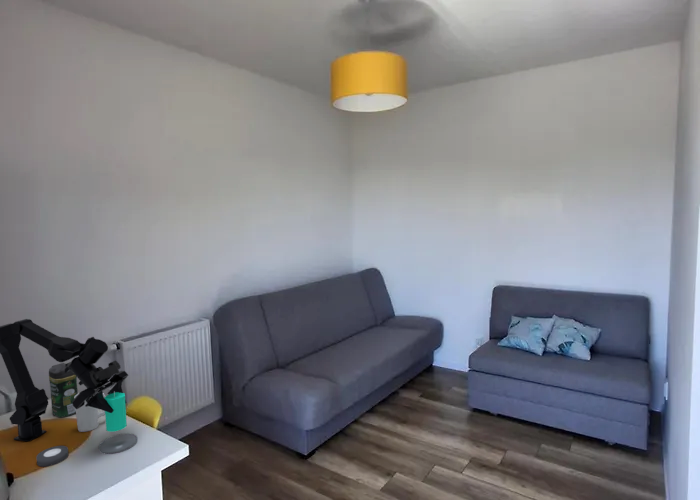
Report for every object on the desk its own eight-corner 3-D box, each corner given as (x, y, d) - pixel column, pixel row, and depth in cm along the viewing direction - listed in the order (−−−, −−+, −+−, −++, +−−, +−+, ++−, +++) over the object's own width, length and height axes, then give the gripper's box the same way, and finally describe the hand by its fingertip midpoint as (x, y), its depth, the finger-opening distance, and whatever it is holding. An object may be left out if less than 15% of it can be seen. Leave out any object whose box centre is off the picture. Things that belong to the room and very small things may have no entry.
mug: (78, 434, 147) (75, 400, 146) (75, 427, 152) (73, 394, 151) (111, 425, 153) (109, 392, 152) (107, 418, 159) (105, 386, 157)
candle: (116, 432, 136) (114, 396, 135) (101, 430, 138) (99, 394, 136) (131, 423, 142) (129, 388, 141) (116, 421, 143) (113, 386, 142)
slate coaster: (90, 451, 136) (90, 449, 136) (116, 434, 147) (116, 431, 147) (120, 455, 134) (120, 453, 134) (144, 437, 144) (144, 435, 144)
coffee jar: (48, 413, 163) (44, 365, 162) (71, 405, 170) (68, 359, 168) (59, 420, 158) (55, 370, 156) (83, 411, 164) (79, 364, 162)
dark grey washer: (30, 465, 129) (29, 458, 129) (53, 450, 137) (53, 444, 137) (52, 467, 128) (51, 461, 128) (74, 453, 136) (74, 446, 135)
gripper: (77, 366, 129) (112, 405, 128) (121, 347, 147) (152, 380, 146) (57, 390, 131) (91, 428, 130) (103, 368, 150) (133, 401, 148)
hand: (119, 407), depth 139 cm, fingers closed on candle, 5 cm apart
